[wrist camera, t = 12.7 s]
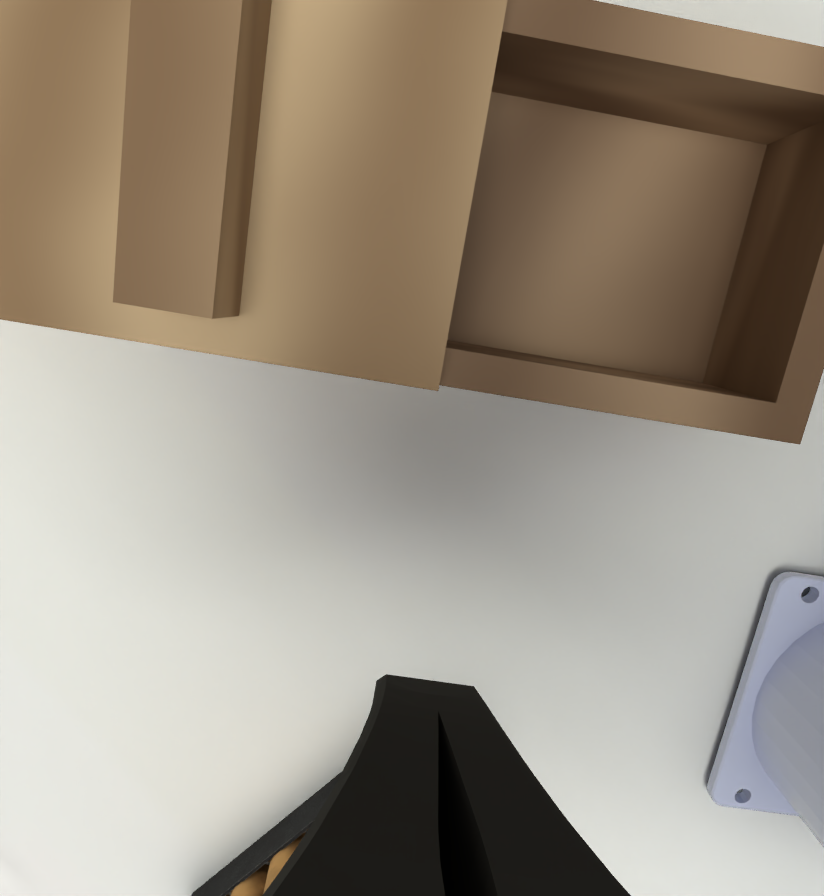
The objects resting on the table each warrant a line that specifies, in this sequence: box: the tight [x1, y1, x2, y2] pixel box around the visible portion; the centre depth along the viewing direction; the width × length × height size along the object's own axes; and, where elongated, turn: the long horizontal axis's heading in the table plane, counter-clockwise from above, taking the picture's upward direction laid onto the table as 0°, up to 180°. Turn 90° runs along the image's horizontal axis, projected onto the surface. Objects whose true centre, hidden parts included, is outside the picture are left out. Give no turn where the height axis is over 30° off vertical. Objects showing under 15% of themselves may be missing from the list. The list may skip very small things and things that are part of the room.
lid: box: [0, 0, 508, 391], centre depth 11 cm, size 15×8×3 cm, turn 80°
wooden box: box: [439, 0, 824, 444], centre depth 15 cm, size 14×8×4 cm, turn 80°
